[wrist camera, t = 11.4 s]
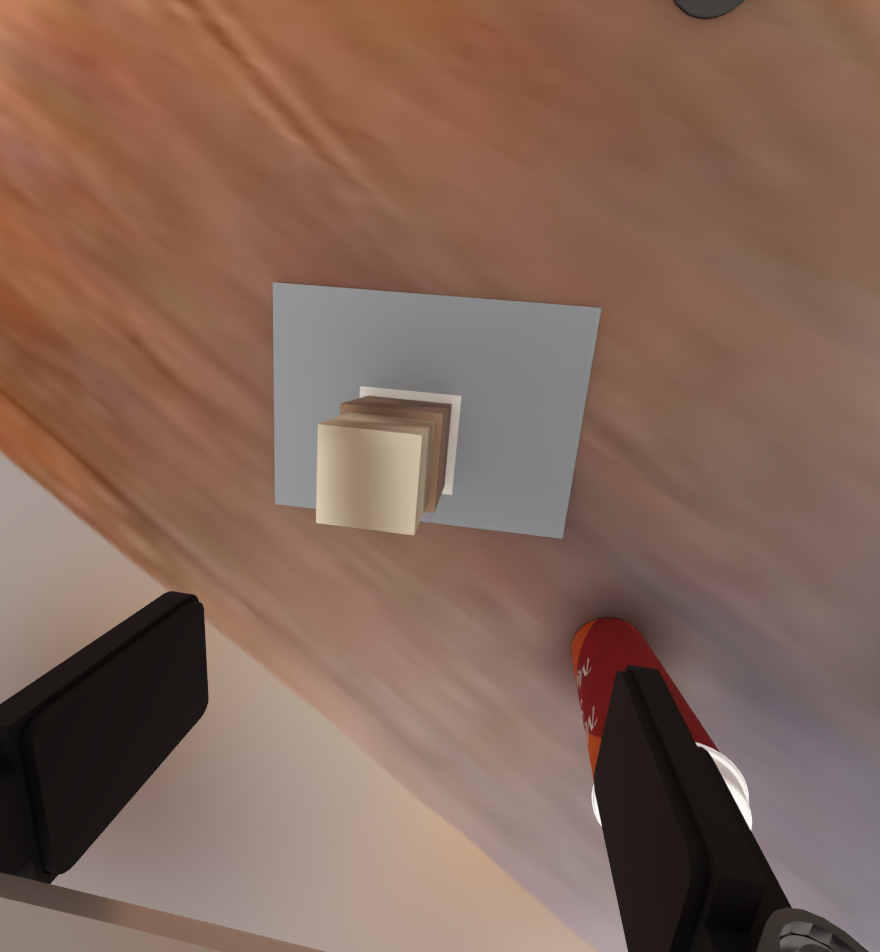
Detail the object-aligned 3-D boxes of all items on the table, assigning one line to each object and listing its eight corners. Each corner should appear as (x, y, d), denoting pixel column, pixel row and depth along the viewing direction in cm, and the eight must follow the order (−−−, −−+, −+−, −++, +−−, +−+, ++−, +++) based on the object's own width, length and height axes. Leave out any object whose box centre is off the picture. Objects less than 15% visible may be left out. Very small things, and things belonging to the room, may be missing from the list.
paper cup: (538, 635, 36) (567, 801, 22) (624, 587, 34) (712, 736, 20) (592, 705, 37) (650, 905, 23) (678, 663, 35) (795, 852, 22)
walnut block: (452, 403, 31) (443, 413, 25) (444, 486, 33) (434, 513, 27) (367, 395, 32) (340, 403, 26) (364, 477, 33) (337, 501, 28)
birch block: (435, 421, 26) (422, 435, 21) (427, 503, 27) (414, 535, 22) (349, 412, 26) (317, 424, 21) (346, 494, 27) (315, 522, 22)
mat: (599, 308, 29) (601, 307, 29) (561, 535, 33) (562, 539, 33) (276, 283, 31) (272, 282, 31) (278, 501, 35) (274, 504, 35)
